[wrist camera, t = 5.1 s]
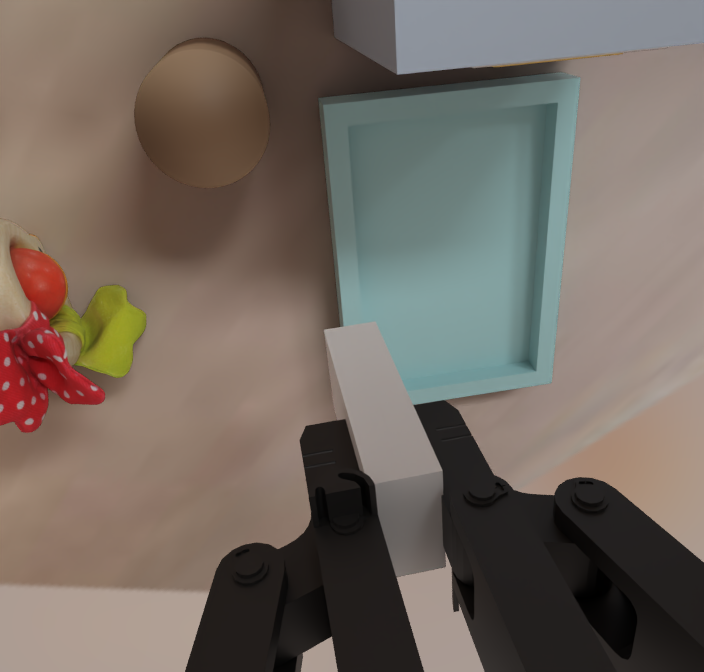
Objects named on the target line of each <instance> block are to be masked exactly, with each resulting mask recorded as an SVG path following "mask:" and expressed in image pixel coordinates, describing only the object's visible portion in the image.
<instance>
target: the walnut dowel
mask: <svg viewBox="0 0 704 672" xmlns="http://www.w3.org/2000/svg"><path fill="white" fill-rule="evenodd" d="M134 118H135V126H136V131H137V135H138V138H139V141H140V143H141V145H142V147H143V149H144V151H145V152H146V154H147V156H148V157H149V158H150V160H151V161H152V162H153V163H154V164H155V165H156V166H157V167H158V168H159V169H160V170H161V171H162V172H163V173H165V174H166V175H168V176H169V177H171V178H172V179H174V180H176V181H178V182H180V183H183V184H186V185H189V186H193V187H198V188H217V187H222V186H226V185H229V184H232V183H234V182H236V181H238V180H240V179H241V178H243V177H244V176H246V175H247V174H248V173H249V172H250V171H252V169H253V168H254V167H255V166H256V165H257V164H258V162H259V161H260V159H261V158H262V156H263V154H264V151H265V149H266V146H267V143H268V139H269V134H270V117H269V111H268V106H267V102H266V98H265V95H264V91H263V87H262V83H261V80H260V77H259V75H258V73H257V71H256V69H255V67H254V66H253V64H252V63H251V62H250V60H249V59H248V58H247V57H246V56H245V55H244V54H243V53H242V52H241V51H239V50H238V49H237V48H235V47H234V46H232V45H230V44H228V43H226V42H223V41H221V40H217V39H212V38H195V39H190V40H187V41H184V42H182V43H180V44H178V45H176V46H175V47H174V48H172V49H171V50H170V51H169V52H168V53H167V54H166V55H165V56H164V57H163V58H162V59H161V60H160V61H159V62H158V63H157V64H156V66H155V67H154V68H153V69H152V70H151V71H150V72H149V74H148V75H147V76H146V77H145V79H144V81H143V82H142V84H141V86H140V88H139V91H138V94H137V97H136V102H135V110H134Z"/></svg>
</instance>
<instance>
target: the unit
mask: <svg viewBox="0 0 704 672" xmlns="http://www.w3.org/2000/svg"><path fill="white" fill-rule="evenodd" d="M332 12H333V25H334V37H335V38H336V39H338V40H340V41H341V42H343V43H345V44H346V45H348V46H350V47H351V48H353V49H355V50H356V51H358V52H360V53H361V54H363V55H365V56H367V57H368V58H370V59H372V60H373V61H375V62H377V63H378V64H380V65H382V66H383V67H385V68H387V69H388V70H390V71H392V72H394V73H395V74H397V75H399V74H408V73H418V72H428V71H437V70H447V69H457V68H466V67H471V68H481V67H491V66H492V67H504V66H513V65H523V64H533V63H542V62H552V61H562V60H571V59H581V58H590V57H600V56H610V55H619V54H623V53H626V52H635V51H645V50H655V49H664V48H668V47H669V46H679V45H688V44H698V43H704V0H332Z"/></svg>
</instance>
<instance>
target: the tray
mask: <svg viewBox="0 0 704 672" xmlns="http://www.w3.org/2000/svg"><path fill="white" fill-rule="evenodd" d="M579 88H580V77H577V76H573V75H570V74H566V73H563V72H558V73H548V74H539V75H529V76H520V77H510V78H501V79H492V80H482V81H473V82H463V83H454V84H444V85H435V86H425V87H416V88H407V89H397V90H388V91H378V92H369V93H359V94H350V95H340V96H331V97H322V98H318V101H319V112H320V122H321V133H322V143H323V153H324V164H325V174H326V185H327V195H328V206H329V216H330V227H331V237H332V247H333V258H334V268H335V279H336V289H337V300H338V310H339V321H340V327H344V326H350V325H356V324H362V323H368V322H374V321H376V324H377V326H378V328H379V330H380V333H381V335H382V337H383V339H384V341H385V344H386V346H387V348H388V350H389V353H390V355H391V357H392V359H393V361H394V364H395V366H396V368H397V370H398V373H399V375H400V377H401V379H402V381H403V384H404V386H405V388H406V390H407V393H408V395H409V397H410V399H411V401H412V404H413V405H415V404H422V403H428V402H434V401H441V400H447V399H454V398H460V397H466V396H473V395H479V394H486V393H492V392H498V391H505V390H511V389H518V388H524V387H530V386H537V385H543V384H549V383H552V372H553V362H554V351H555V341H556V330H557V319H558V309H559V298H560V288H561V277H562V267H563V256H564V246H565V235H566V225H567V214H568V204H569V193H570V183H571V172H572V162H573V151H574V141H575V130H576V120H577V109H578V98H579Z"/></svg>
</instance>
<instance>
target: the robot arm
mask: <svg viewBox="0 0 704 672" xmlns="http://www.w3.org/2000/svg"><path fill="white" fill-rule="evenodd" d="M324 336H325V344H326V351H327V359H328V367H329V374H330V382H331V390H332V397H333V405H334V411H335V414H336V418H337V421H331V422H326V423H320V424H315V425H309V426H306V427H305V429H304V432H303V434H302V436H301V439H300V445H301V451H302V457H303V464H304V470H305V476H306V482H307V488H308V494H309V502H310V508H311V520H310V523H309V526H308V527H307V529H306V530H305V532H304V533H303V534H302V535H301V536H300V537H299V538H298V539H296V540H295V541H293V542H291V543H290V544H288V545H286V546H284V547H282V548H280V549H276V548H274V547H273V546H271V545H269V544H263V543H252V544H246V545H243V546H240V547H238V548H236V549H234V550H232V551H231V552H230V553H229V554H227V555H226V556H225V557H224V558H223V559H222V560H221V562H220V564H219V566H218V568H217V570H216V573H215V576H214V579H213V582H212V586H211V589H210V592H209V595H208V599H207V602H206V605H205V608H204V612H203V615H202V618H201V622H200V625H199V628H198V631H197V635H196V638H195V641H194V644H193V648H192V651H191V654H190V657H189V660H188V664H187V667H186V670H185V672H301V665H302V659H303V654H302V653H303V652H305V651H307V650H309V649H310V648H312V647H314V646H316V645H317V644H319V643H321V642H323V641H324V640H326V639H328V638H330V637H332V639H333V644H334V651H335V657H336V663H337V669H338V672H424V670H423V667H422V663H421V660H420V656H419V653H418V650H417V646H416V643H415V639H414V636H413V633H412V629H411V626H410V622H409V619H408V616H407V612H406V609H405V606H404V602H403V598H402V595H401V592H400V589H399V585H398V581H397V578H396V577H400V576H405V575H409V574H414V573H419V572H424V571H429V570H434V569H438V568H443V567H445V566H446V563H445V562H446V560H445V552H446V554H447V557H448V559H449V562H450V564H451V567H452V598H453V610H454V612H456V611H459V604H460V607H461V610H462V612H463V615H464V618H465V620H466V623H467V626H468V628H469V631H470V634H471V636H472V639H473V642H474V644H475V647H476V649H477V652H478V655H479V657H480V660H481V663H482V665H483V668H484V671H485V672H704V562H702V561H701V560H700V559H699V558H698V557H696V556H695V555H694V554H693V553H692V552H690V551H689V550H688V549H687V548H686V547H684V546H683V545H682V544H681V543H680V542H678V541H677V540H676V539H675V538H674V537H673V536H671V535H670V534H669V533H668V532H666V531H665V530H664V529H663V528H662V527H661V526H659V525H658V524H657V523H656V522H655V521H653V520H652V519H651V518H650V517H649V516H647V515H646V514H645V513H644V512H643V511H641V510H640V509H639V508H638V507H636V506H635V505H634V504H633V503H632V502H630V501H629V500H628V499H627V498H626V497H625V496H623V495H622V494H621V493H620V492H619V491H617V490H616V489H615V488H613V487H612V486H610V485H608V484H607V483H605V482H603V481H599V480H596V479H593V478H582V477H579V478H573V479H569V480H566V481H565V482H563V483H562V484H560V485H559V486H558V488H557V490H556V492H555V495H537V494H527V493H521V492H518V491H515V490H513V488H512V487H511V486H510V485H509V484H508V483H507V482H506V481H505V480H503V479H501V478H499V477H497V476H495V475H494V474H493V472H492V471H491V469H490V467H489V465H488V463H487V462H486V460H485V458H484V456H483V454H482V453H481V451H480V449H479V447H478V445H477V443H476V442H475V440H474V438H473V437H472V436H471V433H470V431H469V429H468V427H467V426H466V424H465V422H464V420H463V418H462V416H461V414H460V413H459V411H458V410H457V409H456V408H454V407H453V406H452V405H450V404H449V403H447V402H446V401H445V400H441V401H435V402H429V403H424V404H418V405H413V404H412V401H411V399H410V397H409V395H408V393H407V390H406V388H405V386H404V384H403V381H402V379H401V377H400V375H399V373H398V370H397V368H396V366H395V364H394V361H393V359H392V357H391V355H390V353H389V350H388V348H387V346H386V344H385V341H384V339H383V337H382V335H381V333H380V330H379V328H378V326H377V324H376V321H374V322H368V323H362V324H356V325H350V326H344V327H338V328H332V329H326V330H324Z"/></svg>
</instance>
